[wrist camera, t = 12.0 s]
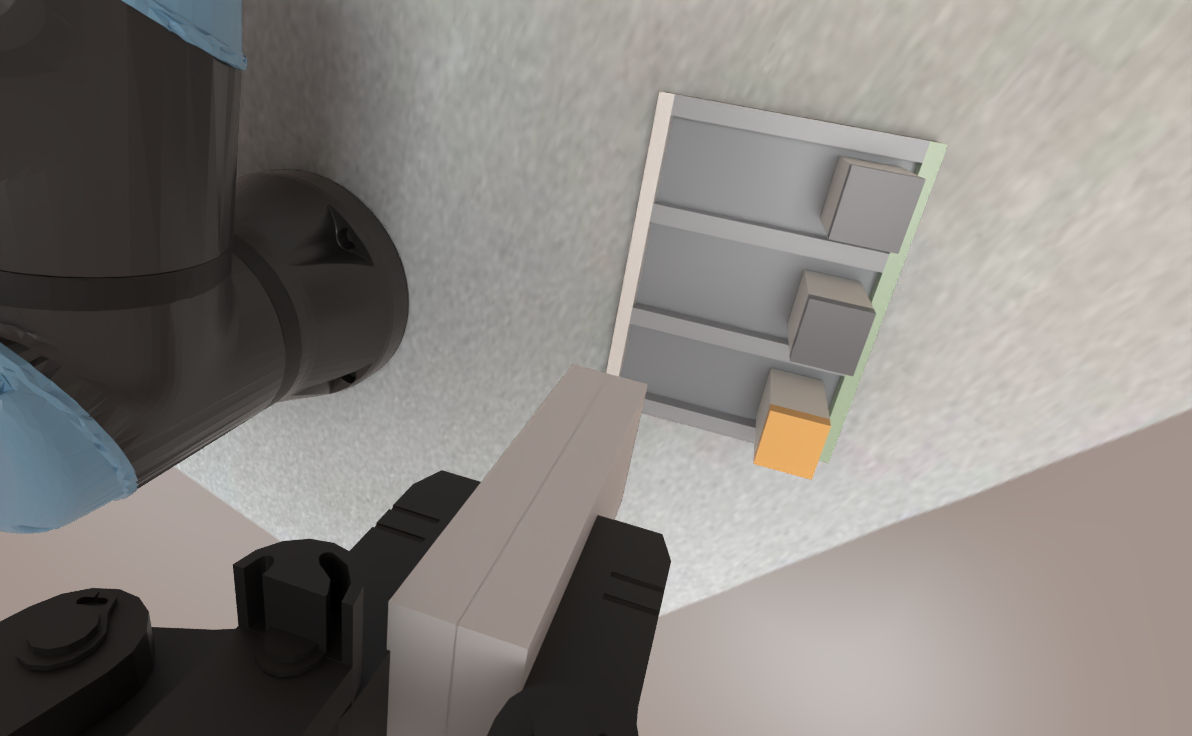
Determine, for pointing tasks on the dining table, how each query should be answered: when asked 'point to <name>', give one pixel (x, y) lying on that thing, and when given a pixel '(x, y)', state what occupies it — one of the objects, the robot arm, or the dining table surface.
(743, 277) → the breaker board
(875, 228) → the toggle near
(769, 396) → the toggle far
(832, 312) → the toggle mid
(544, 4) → the dining table surface
